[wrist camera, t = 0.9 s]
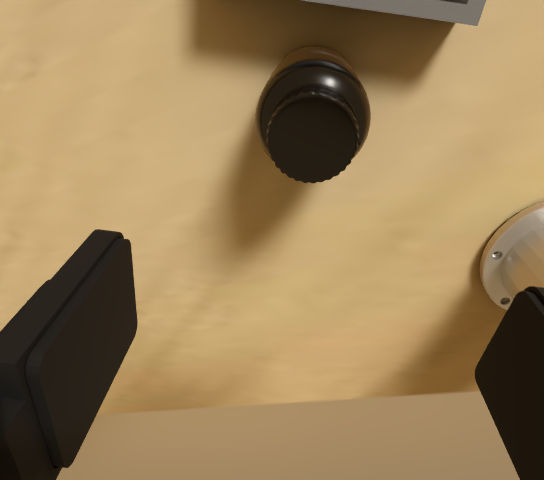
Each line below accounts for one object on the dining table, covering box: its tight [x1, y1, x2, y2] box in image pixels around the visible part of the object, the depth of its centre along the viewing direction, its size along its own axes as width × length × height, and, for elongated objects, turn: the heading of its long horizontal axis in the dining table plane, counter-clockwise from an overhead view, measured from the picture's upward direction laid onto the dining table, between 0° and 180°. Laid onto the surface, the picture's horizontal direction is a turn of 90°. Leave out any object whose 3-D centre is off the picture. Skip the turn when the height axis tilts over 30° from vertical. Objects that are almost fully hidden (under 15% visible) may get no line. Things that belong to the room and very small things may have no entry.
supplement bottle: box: [256, 46, 371, 183], centre depth 26 cm, size 7×7×12 cm
